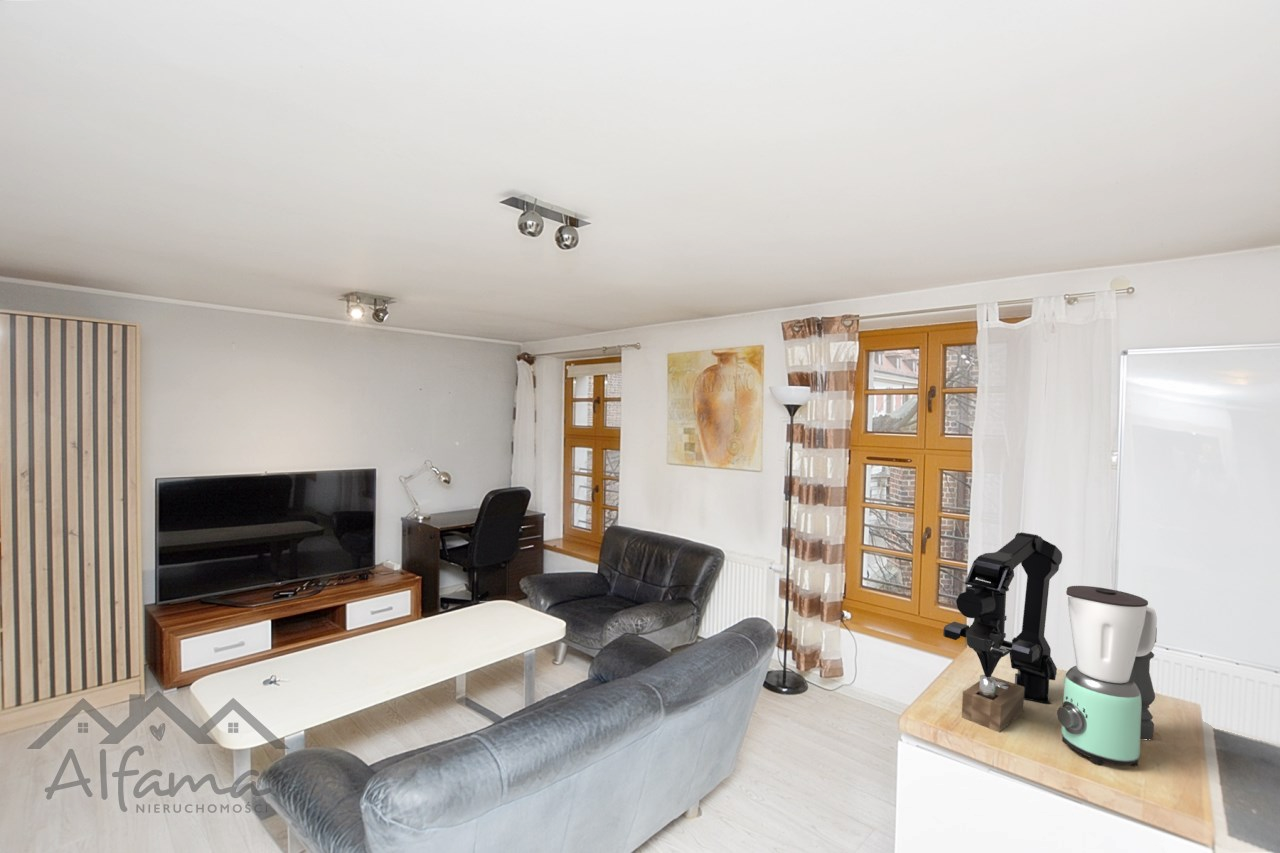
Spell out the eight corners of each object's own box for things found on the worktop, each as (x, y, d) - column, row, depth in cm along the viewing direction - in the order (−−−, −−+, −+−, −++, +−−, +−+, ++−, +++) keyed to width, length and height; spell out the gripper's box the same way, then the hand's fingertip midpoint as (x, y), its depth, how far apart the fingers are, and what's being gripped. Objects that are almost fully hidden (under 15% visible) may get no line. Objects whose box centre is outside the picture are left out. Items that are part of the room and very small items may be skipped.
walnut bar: (1023, 711, 139) (1024, 686, 139) (999, 732, 129) (1000, 705, 129) (987, 698, 145) (988, 674, 145) (961, 717, 135) (962, 692, 135)
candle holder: (1144, 728, 133) (1149, 622, 133) (1159, 742, 127) (1164, 631, 127) (1112, 723, 135) (1117, 618, 135) (1125, 736, 129) (1130, 627, 129)
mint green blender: (1088, 771, 115) (1096, 599, 115) (1037, 735, 128) (1044, 580, 128) (1176, 771, 116) (1184, 601, 116) (1117, 735, 130) (1124, 582, 129)
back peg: (1006, 705, 141) (1007, 683, 141) (1008, 711, 138) (1009, 688, 138) (991, 702, 142) (992, 680, 142) (993, 707, 139) (994, 685, 139)
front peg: (993, 699, 135) (994, 676, 135) (995, 705, 132) (996, 682, 132) (978, 696, 136) (979, 673, 136) (979, 702, 133) (981, 679, 133)
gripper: (934, 606, 136) (931, 671, 136) (1024, 630, 122) (1021, 702, 122) (954, 598, 143) (951, 659, 143) (1041, 620, 129) (1038, 688, 129)
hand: (987, 676), depth 134 cm, fingers closed
